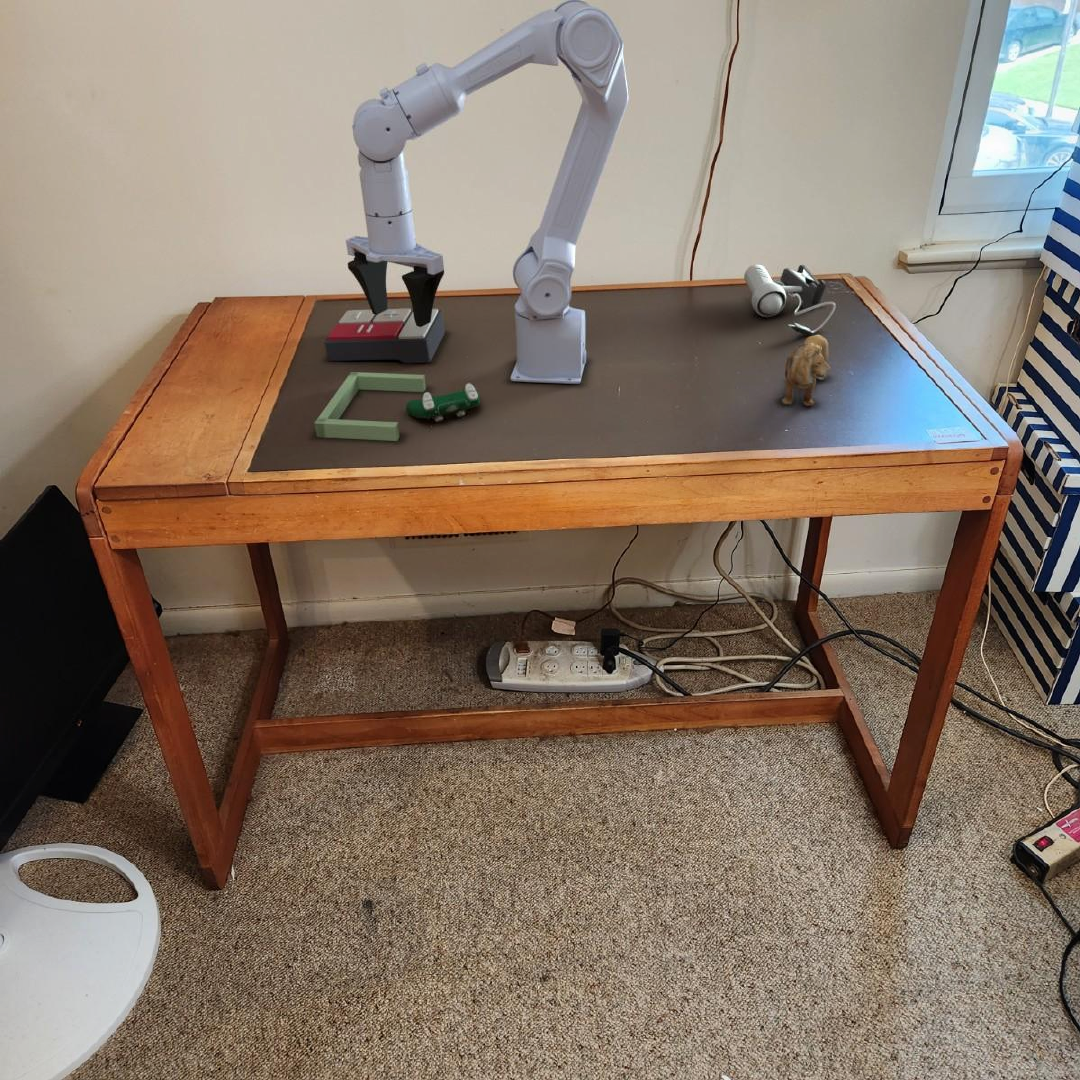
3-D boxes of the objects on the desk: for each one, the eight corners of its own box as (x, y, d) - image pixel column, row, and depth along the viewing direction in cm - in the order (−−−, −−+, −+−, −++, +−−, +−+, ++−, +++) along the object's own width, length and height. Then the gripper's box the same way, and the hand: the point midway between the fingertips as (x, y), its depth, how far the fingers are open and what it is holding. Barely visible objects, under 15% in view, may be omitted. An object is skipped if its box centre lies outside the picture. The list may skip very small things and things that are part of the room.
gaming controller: (411, 433, 114) (419, 418, 108) (403, 405, 114) (409, 388, 109) (479, 417, 117) (489, 402, 111) (470, 390, 117) (480, 373, 112)
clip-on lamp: (841, 351, 134) (801, 284, 145) (857, 315, 129) (814, 249, 141) (767, 351, 132) (732, 283, 143) (780, 314, 127) (743, 247, 139)
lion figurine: (821, 421, 110) (833, 353, 105) (777, 416, 112) (787, 349, 106) (827, 371, 122) (839, 307, 116) (787, 367, 123) (797, 304, 118)
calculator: (344, 307, 135) (441, 304, 133) (350, 334, 137) (445, 332, 135) (321, 337, 126) (425, 334, 124) (328, 365, 128) (430, 363, 126)
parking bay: (426, 388, 120) (424, 374, 119) (397, 441, 109) (395, 426, 108) (353, 385, 122) (351, 371, 120) (317, 437, 110) (314, 422, 109)
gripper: (322, 210, 109) (339, 316, 117) (411, 228, 102) (423, 340, 110) (362, 196, 114) (377, 299, 122) (450, 212, 107) (459, 321, 115)
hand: (401, 318), depth 116 cm, fingers open, 7 cm apart
